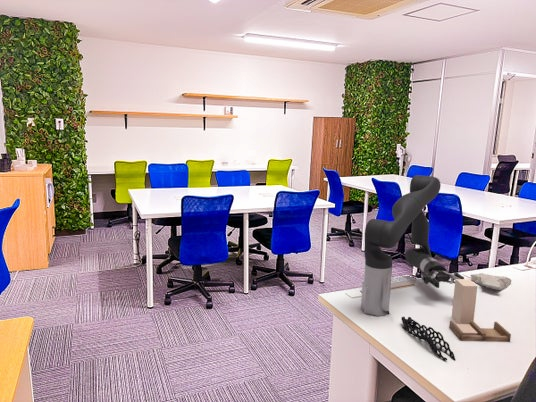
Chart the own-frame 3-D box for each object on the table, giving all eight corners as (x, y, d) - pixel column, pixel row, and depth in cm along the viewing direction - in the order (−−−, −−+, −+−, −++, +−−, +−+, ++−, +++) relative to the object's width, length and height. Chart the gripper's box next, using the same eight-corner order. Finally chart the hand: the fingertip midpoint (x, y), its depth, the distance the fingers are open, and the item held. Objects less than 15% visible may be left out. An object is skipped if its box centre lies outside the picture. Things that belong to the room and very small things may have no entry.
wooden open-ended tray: (459, 344, 122) (461, 333, 121) (448, 331, 130) (449, 320, 129) (509, 345, 122) (510, 334, 121) (495, 331, 130) (496, 321, 129)
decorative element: (457, 364, 112) (460, 345, 111) (442, 367, 111) (445, 347, 110) (408, 326, 133) (410, 310, 132) (395, 328, 132) (396, 311, 131)
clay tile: (462, 338, 123) (463, 332, 123) (454, 329, 129) (455, 323, 129) (477, 338, 123) (477, 332, 123) (468, 329, 129) (469, 324, 128)
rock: (459, 287, 167) (498, 295, 156) (459, 276, 167) (498, 283, 156) (480, 278, 181) (517, 285, 170) (480, 268, 181) (517, 274, 170)
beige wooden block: (459, 329, 131) (463, 285, 129) (451, 320, 137) (455, 278, 135) (472, 329, 131) (477, 286, 129) (464, 320, 137) (468, 279, 134)
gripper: (415, 260, 159) (431, 275, 143) (451, 260, 159) (471, 276, 143) (414, 278, 160) (429, 295, 144) (449, 278, 160) (469, 295, 144)
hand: (450, 285), depth 144 cm, fingers open, 8 cm apart
